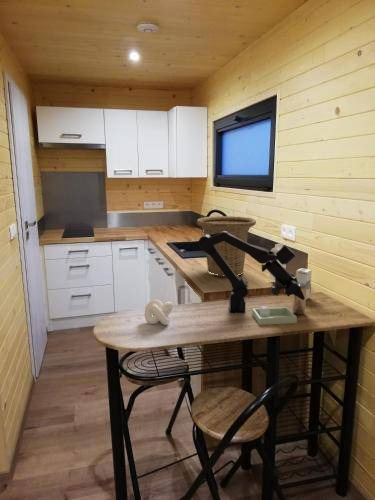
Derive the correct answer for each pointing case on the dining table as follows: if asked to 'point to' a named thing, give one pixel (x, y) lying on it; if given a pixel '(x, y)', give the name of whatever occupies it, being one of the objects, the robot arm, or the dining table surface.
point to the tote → (275, 316)
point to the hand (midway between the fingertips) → (303, 297)
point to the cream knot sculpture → (158, 312)
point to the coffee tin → (300, 300)
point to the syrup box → (304, 279)
